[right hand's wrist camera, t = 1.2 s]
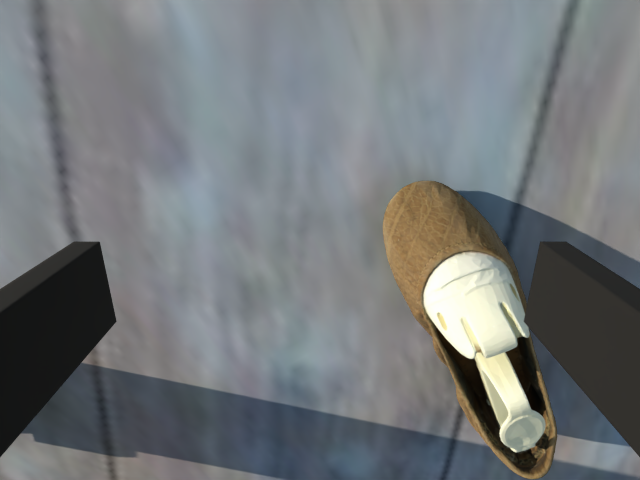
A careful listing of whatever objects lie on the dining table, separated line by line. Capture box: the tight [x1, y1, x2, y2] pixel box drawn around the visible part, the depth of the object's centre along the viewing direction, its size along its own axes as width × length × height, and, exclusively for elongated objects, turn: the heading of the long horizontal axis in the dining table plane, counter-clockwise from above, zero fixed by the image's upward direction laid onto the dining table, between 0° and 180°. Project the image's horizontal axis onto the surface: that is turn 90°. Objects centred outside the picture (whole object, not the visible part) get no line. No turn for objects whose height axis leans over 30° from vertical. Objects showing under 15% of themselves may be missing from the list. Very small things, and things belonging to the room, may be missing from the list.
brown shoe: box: [383, 181, 557, 479], centre depth 29 cm, size 8×24×9 cm, turn 23°
